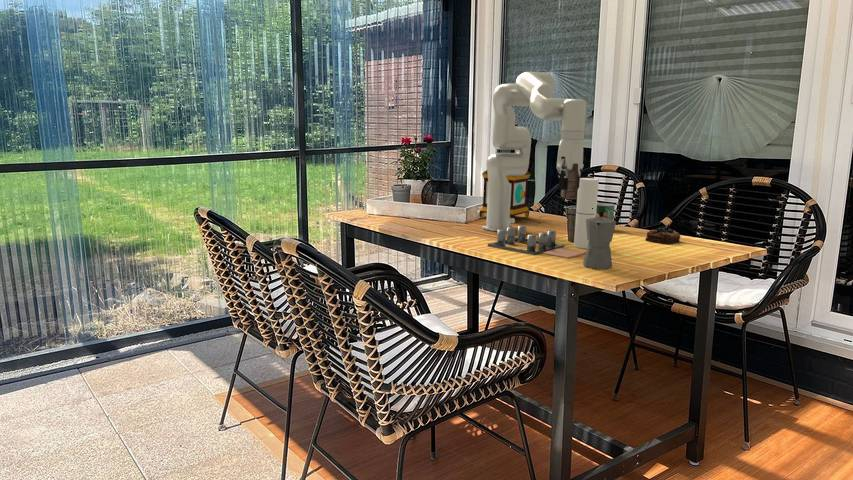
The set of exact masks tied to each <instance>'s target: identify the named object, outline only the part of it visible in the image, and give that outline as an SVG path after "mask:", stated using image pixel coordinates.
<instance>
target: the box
mask: <svg viewBox="0 0 853 480" xmlns="http://www.w3.org/2000/svg"><path fill="white" fill-rule="evenodd" d="M566 168H567V166H566V167H565V168H564V169H566ZM564 173H565V171H564ZM567 178H568V189H567V190H560V197H562V198H563V199H564V200H577V194H578V189H577V181H578V164H577V163H576V164H573V168H572V170H569V173H568V176H567Z"/></svg>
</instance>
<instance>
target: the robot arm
mask: <svg viewBox="0 0 853 480" xmlns="http://www.w3.org/2000/svg"><path fill="white" fill-rule="evenodd" d="M555 84H556V83H555V79H554V77H553V75H552V74H550V73H549V72H542V71H525V72H522V73H521V74H519V75H518V76H517V78H516V80H515V83H501V84H499V85H498V86H496V88H495V89H494V92H493V95H492V104H493V105H492V106H493V111H494V115H493V117H494V118H493V119H494V120H493V128H492V145H493V147H494V148H495V149H496V150H503V151H504V150H505V151H510V150H511V151H514V152H496V153H492V154H490V155H489V156H488V158H487V160H486V170H487V172H488V199H487V213H486V224H483V225H482V229H483V230H486V231H490V232H498V229H504V230H506V232H507V227H513V225H511V224H512V223H513V224H514V223H515V222H516V220H515V217H514V218H510V200H511V186H510V183H509V181H508V180H507V178H506V176H522V175H524V174H525V173H526V172H527V171H528V169H529V165H530V156H531V147H532V146H531V144H532V135H531V133H530V129H528V128H527V127H524V126H517V125H516V112H515V110H514V109H513V106H515V107H529V109H530V110H531V112H532V114H534V115H535V116H536V117H537V118H539V119H540V120H544V121H559V122H561V132H560V134H561V135H560V141H559V145H558V150H557V159H556V167H555V168H556V170H557V174H558V190H559V191H561V190H567V189H568V178H567V176H568V173H569V170H572V168H573V164H576V163H577V164H578V181H577V190H578V188H579V183H580V178H581V175H582V171H583V168H584V165H585V164H584V163H583V162H584V139H585V127H586V115H587V112H586V111H587V101H586V100H585V99H581V98H563V97H562V98H561V97H553V94H554V93H553V92H554V90H555V86H556V85H555ZM566 166H567V168H566V169H564V168H565V167H566ZM564 171H565V173H564Z"/></svg>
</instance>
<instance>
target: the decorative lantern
mask: <svg viewBox="0 0 853 480" xmlns="http://www.w3.org/2000/svg"><path fill="white" fill-rule="evenodd" d="M481 176H482V178H483V194H482V195H483V197H482V206H481V208H480V209H479V215H478V216H479V218H480V219H483V218H484V213H485V214H487V199H488V172H487V169H486V170H485V171H483V172H482V173H481ZM530 176H531V173H530V171H528V170H527V172H526V173H525V174H524V175H522V176H506V178H507V180H508V181H509V183H510V186H511V200H510V219H511V218H514V219H515V216H519V215H523V214H524V217H525V218H526V219H528V218H529V217H530V210H529V207H528V204H527V203H528V202H527V201H528V186H529V185H528V183H529V182H528V181H529V179H530V178H531V177H530Z"/></svg>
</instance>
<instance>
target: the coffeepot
mask: <svg viewBox="0 0 853 480" xmlns="http://www.w3.org/2000/svg"><path fill="white" fill-rule="evenodd" d="M603 215H604V212H603V211H599V217H595V218H590V219H586V229H587V239H588V241H589V242H588V246H587V249H586V248H585V249H586V250H585V252H586V253H585V254H584V258H583V261H582V265H583V266H584V268H587V269H590V268H592V270H598V269H599V270H601V271H603V270H605V269H606V270H610V269H612V268H613V262H612V260H613V259H612V250H611V244H610V243H611V242H612V240H613V237H614V233H615V229H616V224H617V221H616V220H614V219H613V220H612V219H608V218H606V217H605V216H603Z"/></svg>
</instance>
